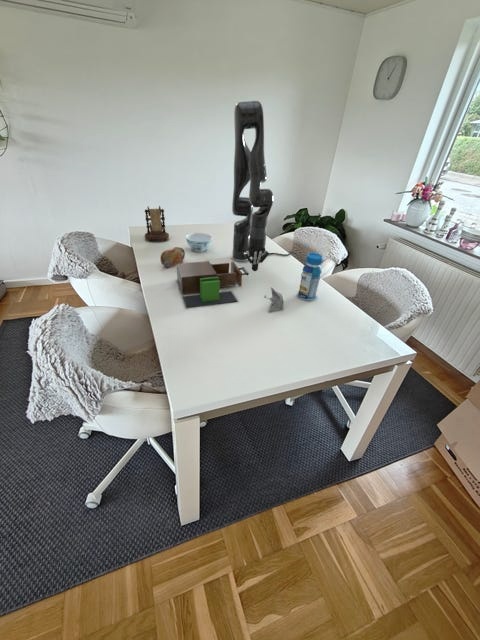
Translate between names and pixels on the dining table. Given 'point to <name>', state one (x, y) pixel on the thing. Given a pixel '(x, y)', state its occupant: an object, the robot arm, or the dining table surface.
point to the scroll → (155, 225)
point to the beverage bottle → (310, 277)
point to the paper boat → (276, 300)
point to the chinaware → (198, 241)
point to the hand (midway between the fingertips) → (254, 270)
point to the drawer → (229, 274)
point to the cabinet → (193, 275)
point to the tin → (172, 256)
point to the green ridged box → (209, 289)
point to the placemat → (196, 301)
